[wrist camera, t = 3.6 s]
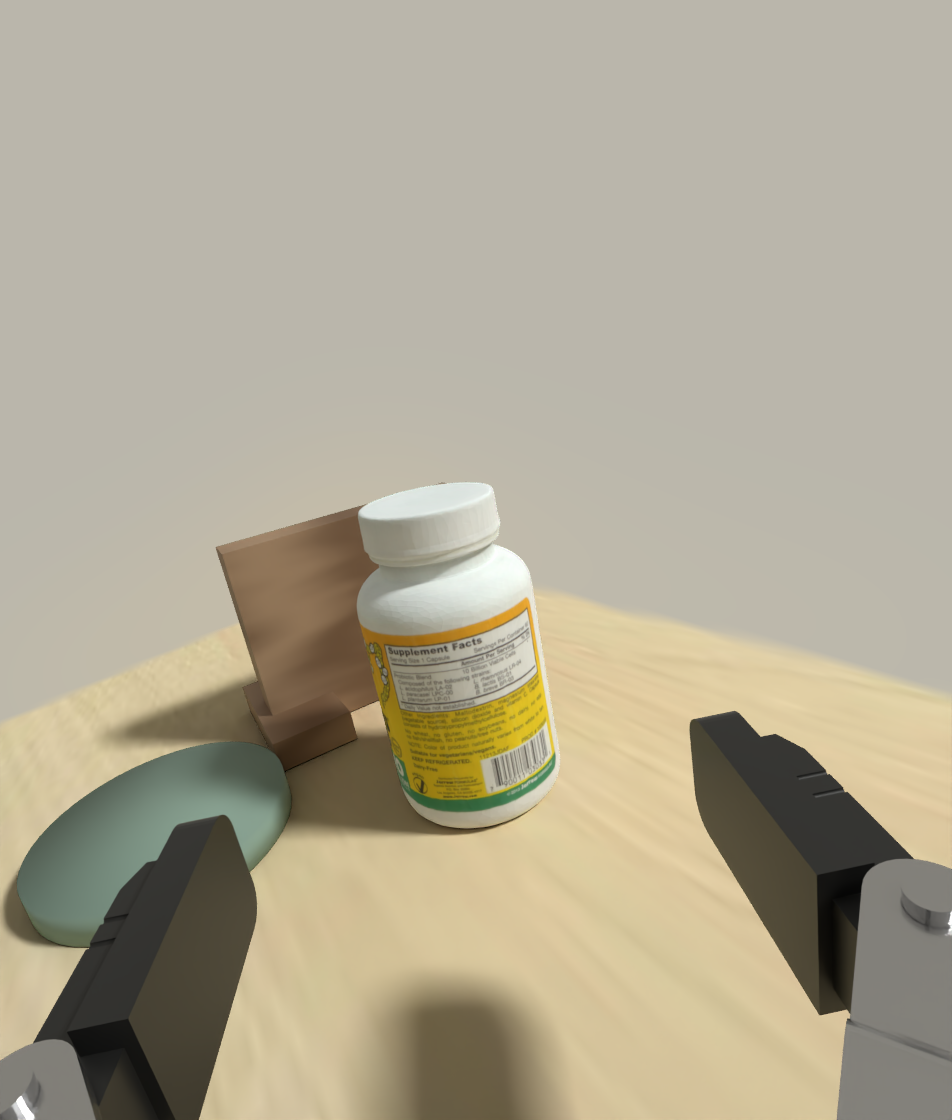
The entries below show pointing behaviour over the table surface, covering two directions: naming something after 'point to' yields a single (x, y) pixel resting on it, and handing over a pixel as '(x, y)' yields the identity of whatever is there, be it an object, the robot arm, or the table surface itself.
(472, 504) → the supplement bottle
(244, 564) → the divider
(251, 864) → the pad
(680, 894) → the table surface
